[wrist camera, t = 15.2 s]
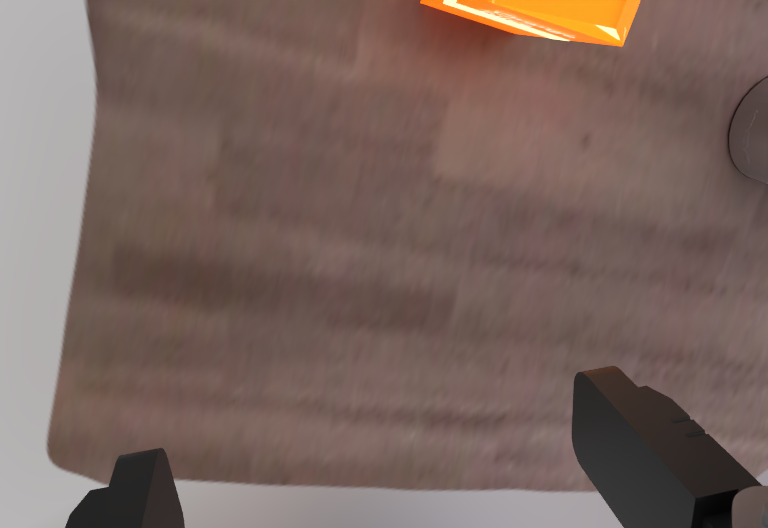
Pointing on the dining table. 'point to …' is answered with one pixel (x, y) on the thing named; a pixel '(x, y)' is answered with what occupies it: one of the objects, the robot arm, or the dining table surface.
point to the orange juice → (550, 17)
